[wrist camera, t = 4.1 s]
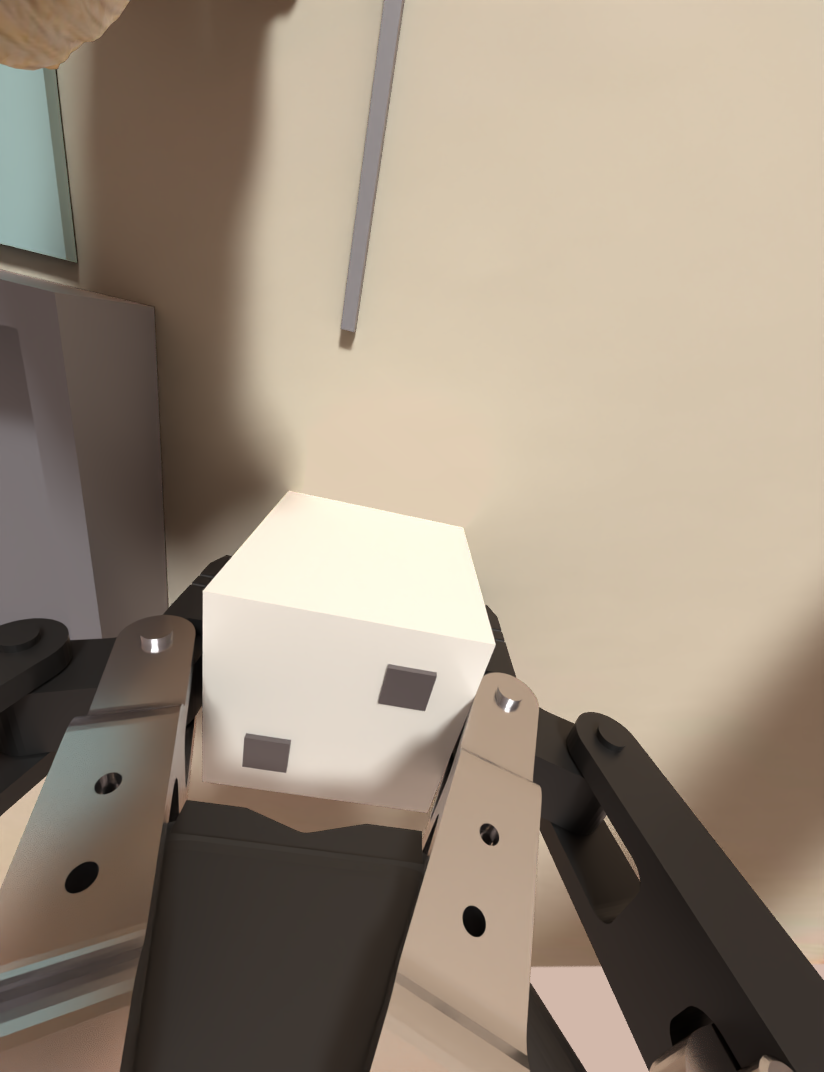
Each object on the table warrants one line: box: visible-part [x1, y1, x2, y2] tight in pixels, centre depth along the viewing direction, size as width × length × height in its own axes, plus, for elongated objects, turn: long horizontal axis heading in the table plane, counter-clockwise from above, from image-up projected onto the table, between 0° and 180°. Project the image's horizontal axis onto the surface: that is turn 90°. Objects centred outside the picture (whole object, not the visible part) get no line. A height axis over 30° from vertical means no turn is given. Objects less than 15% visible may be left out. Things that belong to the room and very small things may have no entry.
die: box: [202, 491, 496, 813], centre depth 10 cm, size 5×5×5 cm
